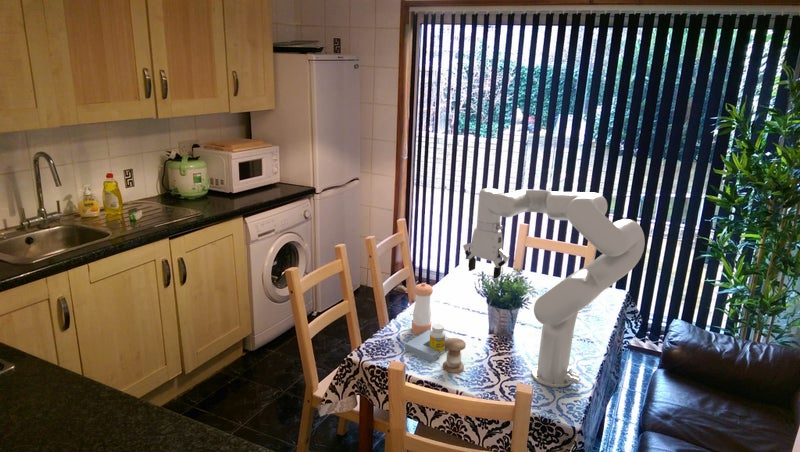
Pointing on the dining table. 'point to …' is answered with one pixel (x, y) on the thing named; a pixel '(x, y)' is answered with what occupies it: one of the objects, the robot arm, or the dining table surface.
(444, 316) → the dining table surface
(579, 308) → the robot arm
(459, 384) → the dining table surface
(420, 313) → the pepper shaker
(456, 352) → the bobbin
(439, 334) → the supplement bottle
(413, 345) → the gray u-shaped block
